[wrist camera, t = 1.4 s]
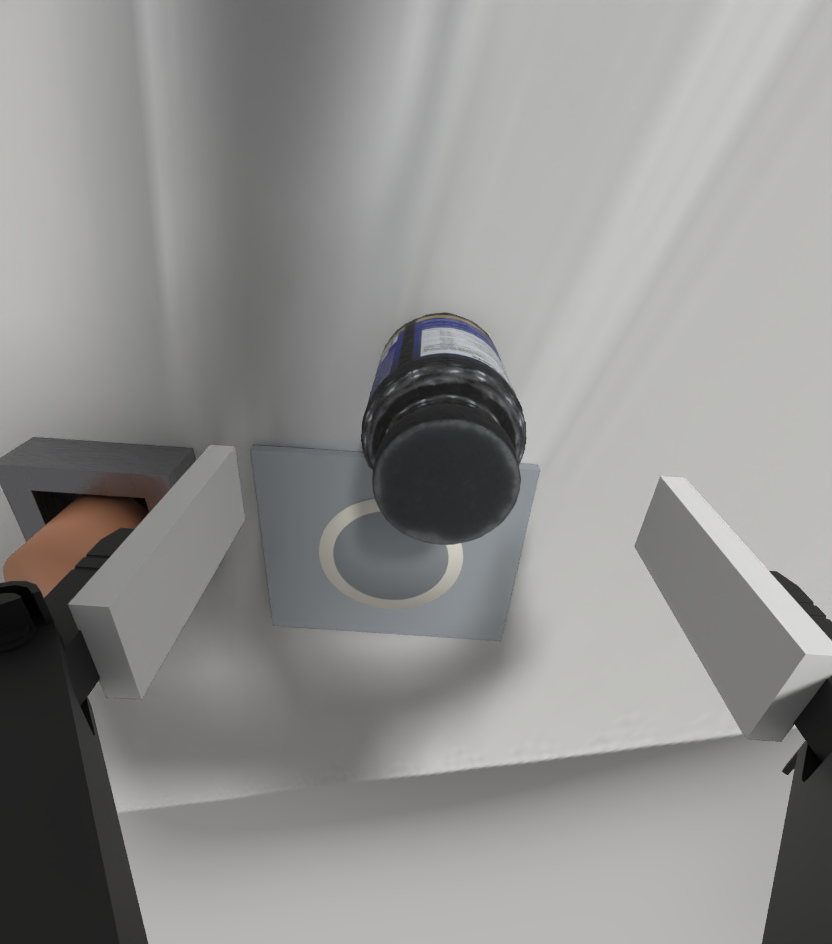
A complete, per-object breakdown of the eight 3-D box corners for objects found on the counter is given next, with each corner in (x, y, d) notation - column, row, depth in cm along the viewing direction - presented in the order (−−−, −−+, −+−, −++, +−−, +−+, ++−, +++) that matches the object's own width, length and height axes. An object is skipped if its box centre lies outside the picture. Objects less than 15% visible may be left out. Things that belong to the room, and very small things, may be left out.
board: (253, 444, 27) (249, 451, 26) (537, 464, 27) (540, 471, 26) (275, 619, 34) (272, 627, 33) (499, 634, 34) (501, 642, 34)
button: (58, 486, 27) (-14, 544, 22) (149, 492, 27) (94, 552, 22) (85, 556, 29) (25, 619, 25) (167, 561, 29) (121, 626, 25)
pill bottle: (420, 444, 27) (414, 587, 17) (355, 352, 24) (306, 461, 15) (521, 389, 25) (576, 515, 15) (462, 283, 22) (485, 355, 13)
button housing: (33, 437, 27) (-9, 463, 24) (192, 448, 27) (167, 475, 25) (80, 558, 32) (49, 592, 29) (216, 568, 32) (197, 602, 29)
